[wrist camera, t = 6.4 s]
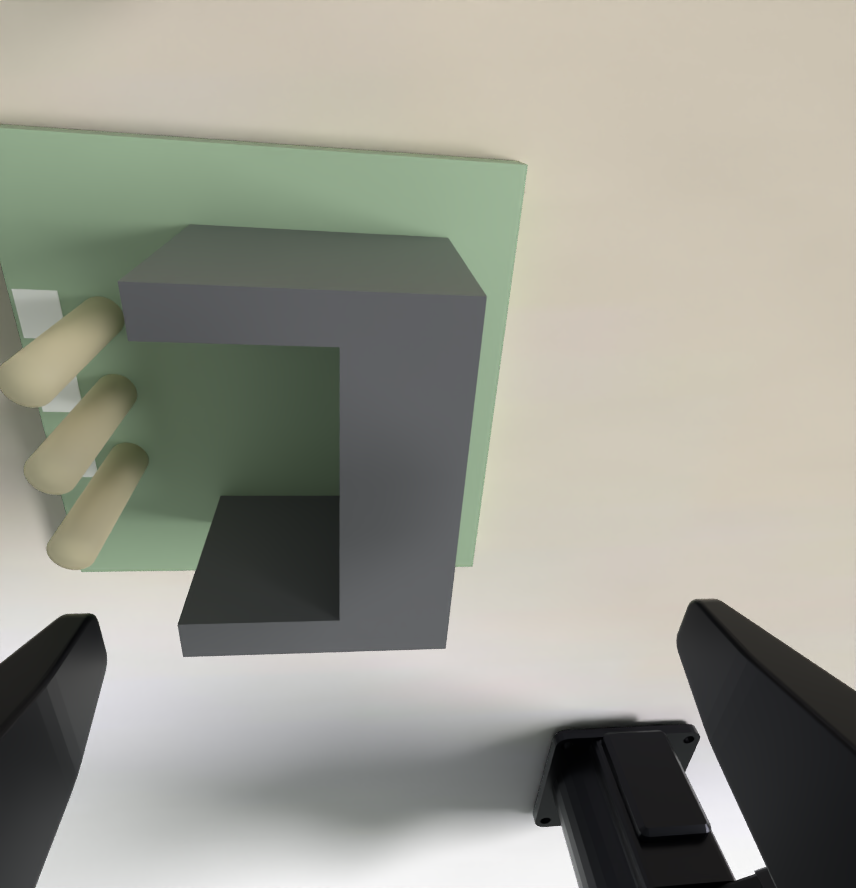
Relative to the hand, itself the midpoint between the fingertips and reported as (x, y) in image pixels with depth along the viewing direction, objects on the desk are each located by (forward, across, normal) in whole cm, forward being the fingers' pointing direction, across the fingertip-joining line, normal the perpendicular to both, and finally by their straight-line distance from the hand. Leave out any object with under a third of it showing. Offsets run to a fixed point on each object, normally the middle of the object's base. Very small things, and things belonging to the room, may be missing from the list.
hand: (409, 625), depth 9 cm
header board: (+10, +3, 0) cm, 10 cm away
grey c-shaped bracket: (+8, +2, 0) cm, 9 cm away
